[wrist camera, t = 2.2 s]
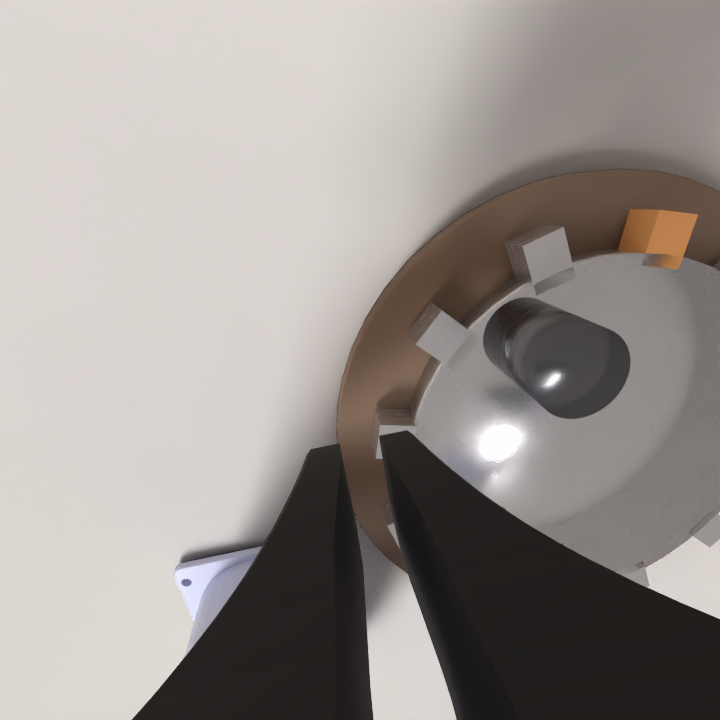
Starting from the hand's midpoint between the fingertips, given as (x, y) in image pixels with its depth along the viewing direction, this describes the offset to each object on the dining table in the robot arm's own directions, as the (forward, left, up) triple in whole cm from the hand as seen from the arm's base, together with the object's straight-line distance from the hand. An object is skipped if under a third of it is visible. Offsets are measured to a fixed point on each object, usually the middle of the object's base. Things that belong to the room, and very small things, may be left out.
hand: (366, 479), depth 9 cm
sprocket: (-7, -11, -9) cm, 15 cm away
